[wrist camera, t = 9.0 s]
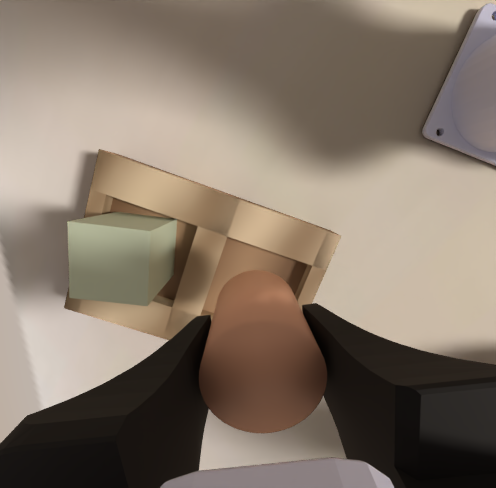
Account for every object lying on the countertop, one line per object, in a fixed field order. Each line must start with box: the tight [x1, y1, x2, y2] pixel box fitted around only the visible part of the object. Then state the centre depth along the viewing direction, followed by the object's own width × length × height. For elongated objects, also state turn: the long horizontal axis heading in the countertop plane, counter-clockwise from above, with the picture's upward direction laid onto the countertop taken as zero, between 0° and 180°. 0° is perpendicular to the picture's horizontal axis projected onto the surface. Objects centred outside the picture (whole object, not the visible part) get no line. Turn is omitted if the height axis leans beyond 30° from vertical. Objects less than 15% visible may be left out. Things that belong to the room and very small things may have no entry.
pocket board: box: [64, 149, 341, 340], centre depth 18 cm, size 16×11×2 cm
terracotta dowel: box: [199, 270, 327, 433], centre depth 10 cm, size 4×4×5 cm
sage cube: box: [67, 212, 177, 306], centre depth 15 cm, size 4×4×5 cm
